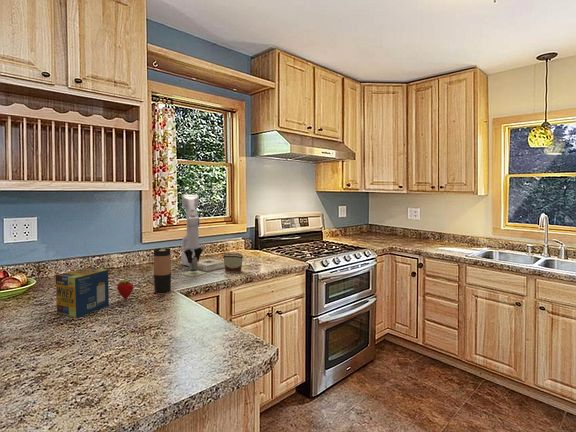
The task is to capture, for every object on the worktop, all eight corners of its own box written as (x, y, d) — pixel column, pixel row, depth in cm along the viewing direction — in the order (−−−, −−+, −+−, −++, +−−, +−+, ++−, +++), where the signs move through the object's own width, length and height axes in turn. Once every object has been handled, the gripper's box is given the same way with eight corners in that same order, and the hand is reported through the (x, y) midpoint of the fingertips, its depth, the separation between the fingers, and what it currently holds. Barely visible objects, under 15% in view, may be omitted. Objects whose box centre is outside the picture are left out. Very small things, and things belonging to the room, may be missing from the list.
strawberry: (124, 302, 150) (124, 279, 149) (113, 299, 154) (113, 277, 153) (136, 299, 155) (136, 276, 154) (126, 295, 159) (125, 274, 158)
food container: (245, 270, 211) (245, 253, 210) (243, 272, 205) (243, 255, 204) (225, 269, 212) (225, 252, 211) (222, 271, 206) (222, 254, 205)
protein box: (56, 314, 136) (54, 274, 134) (91, 302, 150) (90, 266, 149) (75, 318, 132) (74, 278, 131) (109, 305, 146) (108, 269, 145)
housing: (191, 267, 214) (191, 262, 213) (210, 263, 225) (210, 258, 224) (207, 271, 205) (206, 265, 205) (225, 267, 216) (225, 261, 216)
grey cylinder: (188, 270, 200) (187, 256, 199) (194, 269, 203) (194, 255, 202) (192, 272, 197) (192, 257, 196) (199, 270, 200) (198, 256, 199)
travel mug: (161, 294, 161) (160, 251, 160) (150, 291, 165) (149, 249, 164) (174, 290, 168) (174, 249, 166) (164, 288, 172) (163, 247, 170)
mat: (180, 273, 199) (180, 273, 199) (195, 270, 207) (195, 269, 207) (191, 276, 193) (191, 276, 193) (206, 273, 201) (206, 272, 201)
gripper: (186, 240, 190) (187, 265, 191) (208, 237, 202) (208, 261, 203) (179, 239, 194) (179, 263, 196) (200, 236, 206) (200, 259, 207)
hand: (193, 262), depth 199 cm, fingers closed on grey cylinder, 4 cm apart
